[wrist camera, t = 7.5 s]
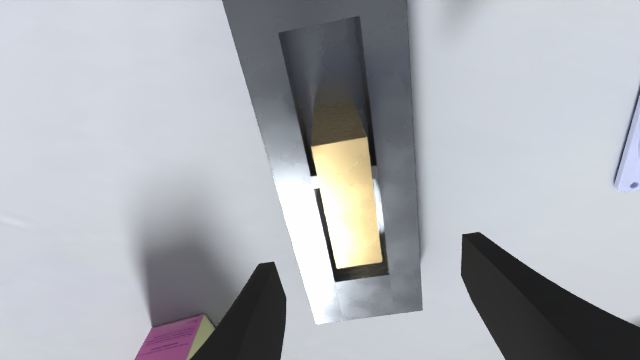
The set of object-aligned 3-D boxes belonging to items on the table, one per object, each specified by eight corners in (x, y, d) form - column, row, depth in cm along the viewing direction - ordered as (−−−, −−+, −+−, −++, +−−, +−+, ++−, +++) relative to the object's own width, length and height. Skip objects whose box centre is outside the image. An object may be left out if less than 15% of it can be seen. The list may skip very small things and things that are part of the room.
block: (385, -89, 15) (400, -111, 12) (412, 279, 26) (422, 310, 23) (223, -50, 16) (203, -63, 13) (316, 293, 27) (316, 324, 24)
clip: (353, 101, 19) (367, 137, 13) (366, 201, 22) (382, 262, 16) (313, 109, 19) (311, 146, 13) (332, 206, 22) (336, 268, 17)
